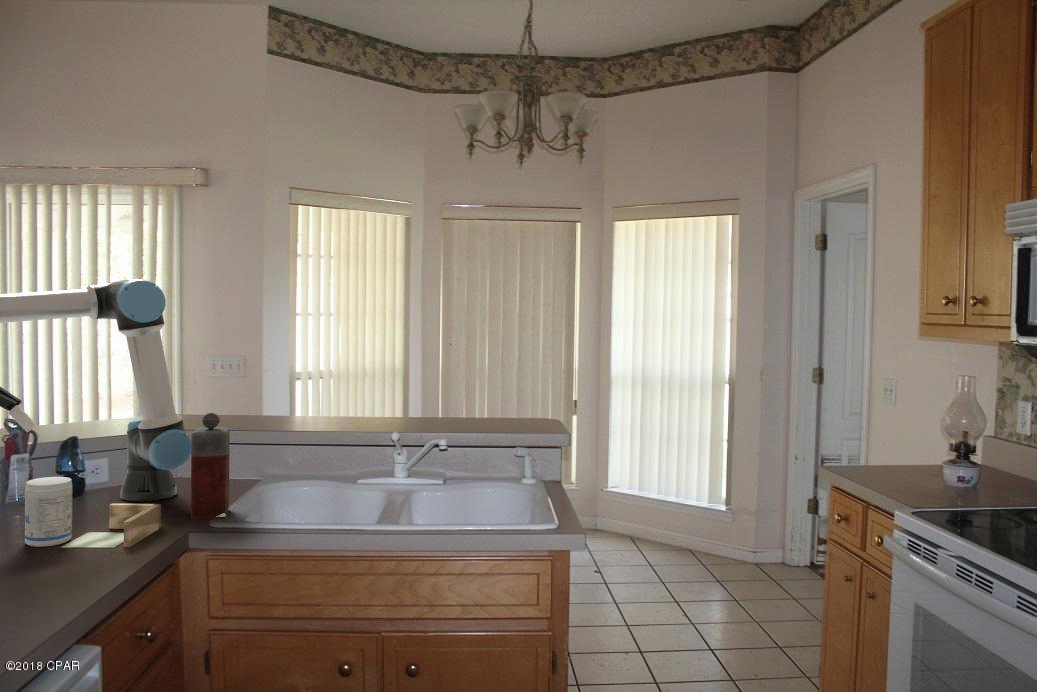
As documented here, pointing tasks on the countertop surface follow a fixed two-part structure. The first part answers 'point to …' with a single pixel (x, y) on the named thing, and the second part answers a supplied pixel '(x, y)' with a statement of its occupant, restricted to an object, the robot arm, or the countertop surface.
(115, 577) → the countertop surface
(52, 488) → the supplement tub
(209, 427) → the dark red bottle
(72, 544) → the corner arena
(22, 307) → the robot arm
